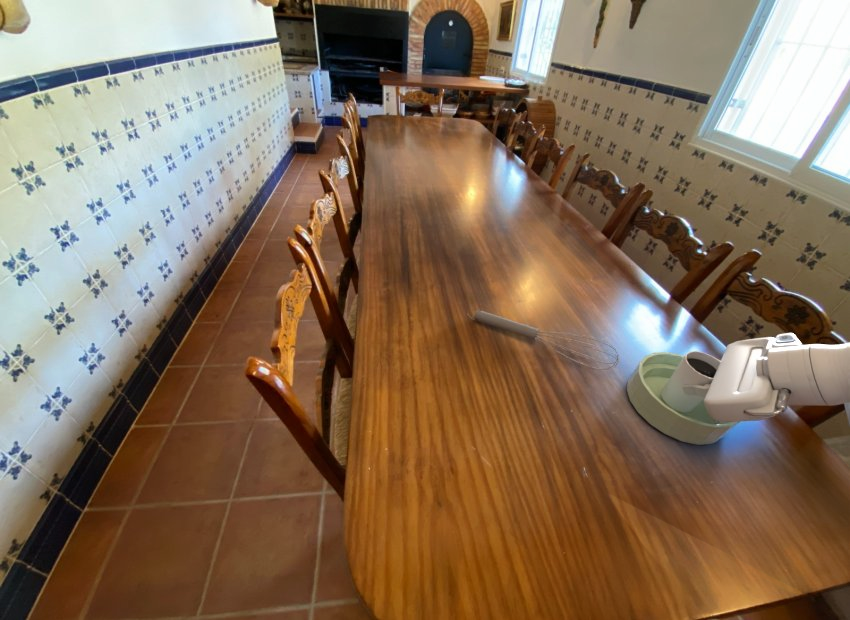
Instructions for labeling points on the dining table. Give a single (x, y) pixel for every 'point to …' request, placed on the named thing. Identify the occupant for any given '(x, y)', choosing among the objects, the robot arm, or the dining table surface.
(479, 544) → the dining table surface
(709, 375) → the white coffee cup
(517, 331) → the kitchen whisk
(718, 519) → the dining table surface
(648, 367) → the bowl
